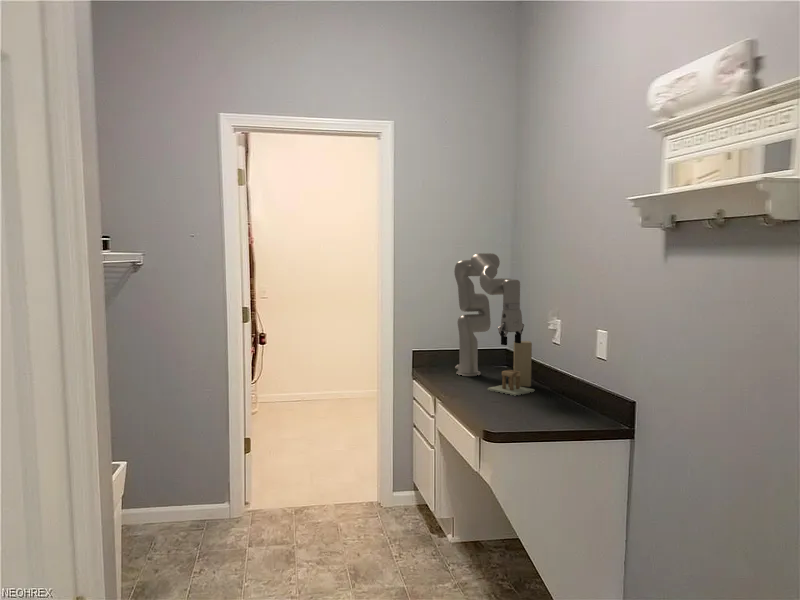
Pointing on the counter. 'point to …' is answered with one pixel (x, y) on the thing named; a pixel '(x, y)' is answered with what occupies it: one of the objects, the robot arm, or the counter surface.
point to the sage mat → (511, 392)
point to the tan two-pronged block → (511, 379)
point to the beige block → (523, 362)
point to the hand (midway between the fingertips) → (511, 343)
